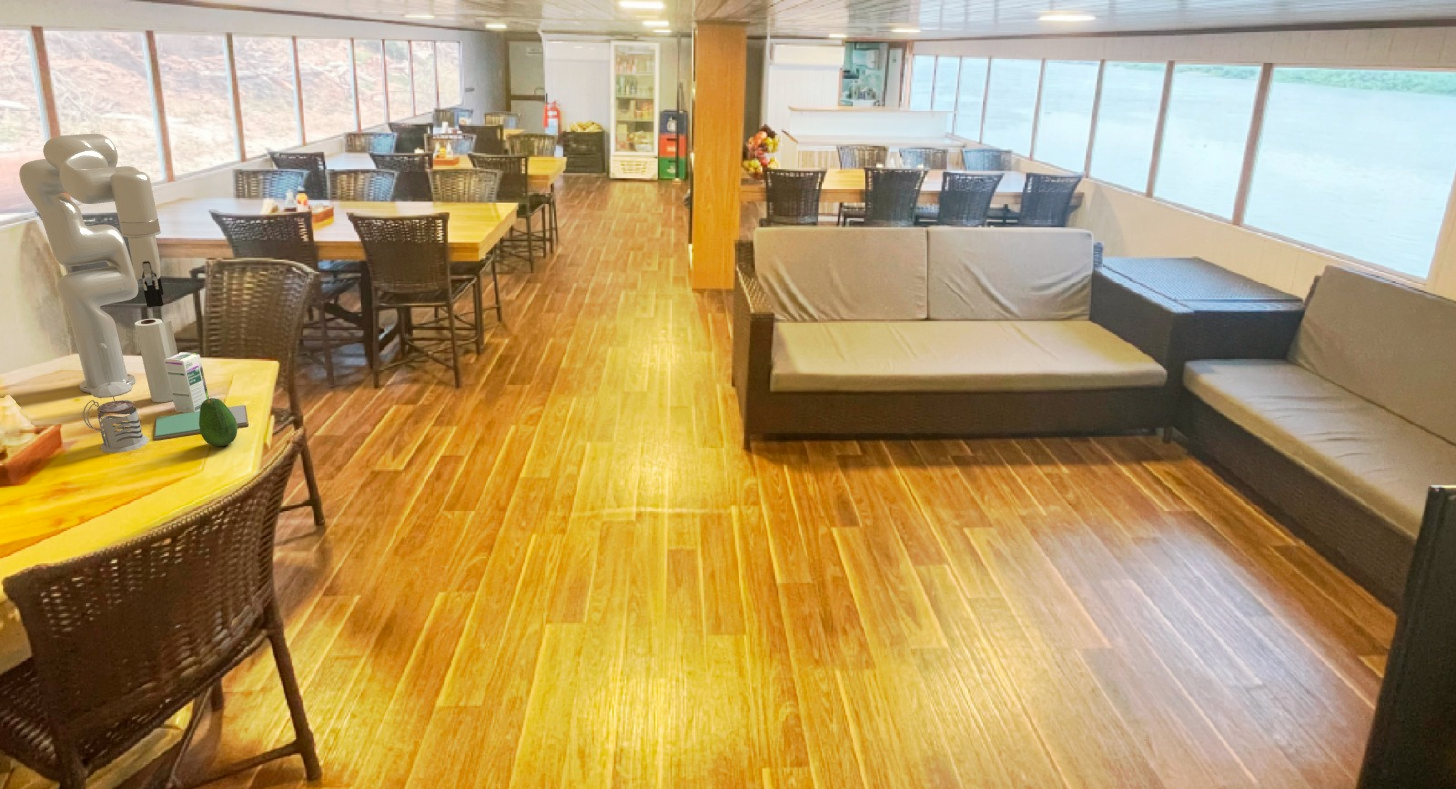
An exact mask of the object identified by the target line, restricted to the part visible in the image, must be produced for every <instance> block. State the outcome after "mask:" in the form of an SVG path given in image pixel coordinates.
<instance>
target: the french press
mask: <svg viewBox="0 0 1456 789" xmlns="http://www.w3.org/2000/svg"><path fill="white" fill-rule="evenodd" d="M106 348H107V346H106V345H105V344H104V343H100V344H98V345H97V349H98V350H102V354H103V349H106ZM103 358H104V354H103ZM104 362H105V358H104ZM105 366H106V362H105ZM106 370H107V366H106ZM107 374H108V370H107ZM108 378H109V374H108ZM132 389H133V385H130V384H127V383H124V382H110V378H109V383H105V384H102V385H100V386H98V387H97V388H95V389H94V390H93V391H92V392H91V393H90V394H91V396H92V397H94V398H97V399H102V398H103V399H106V398H113V400H112V401H108V402H105V403H103V404H101V405H99V402H98V401H95V400H89V402H87V403H86V405H85V406H84V407H83V412H82V417H83V418H82V419H83V421H84V423H85V425H86V426H87V427H88V428H89V429H92V430H93V431H97V432H100V434H101V438H102V441H103V443H102V444H101V445H100V447H99V449H100V450H101V451H102V452H104V453H107V454H108V453H109V454H113V453H114V454H119V453H126V452H130V451H134V450H137V449H140V448H142V447H144V446H146V445H147V444H148V443H149V441H150V438H149V437H148V436H147V435H144V434H143V432H142V431H143V429H142V427H141V422H140V418H139V413H138V408H137V407H136V406H135V402H133V401H132V400H127V399H124V400H122V399H118V400H115V397H119V396H122V395H125V394H128V393H129V392H131V391H132ZM92 402H93V403H92ZM90 403H92V404H90ZM89 404H90V406H89V407H88V405H89ZM93 405H94V406H95V407H96V408H97V411H98V413H97V420H98V423H99V427H100V428H95V427H94V426H93V425H92V424H91V423H90V420H89V415H90V413H89V412H90V409H91V408H92V407H93ZM87 407H88V409H87V412H86V408H87ZM85 413H86V416H85ZM105 414H114V415H105ZM104 415H105V416H104ZM116 415H124V416H116ZM103 416H104V417H103ZM102 417H103V418H102ZM86 419H87V420H86Z"/></svg>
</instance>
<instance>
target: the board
mask: <svg viewBox="0 0 1456 789" xmlns="http://www.w3.org/2000/svg"><path fill="white" fill-rule="evenodd" d="M227 407H228V409H229V410H230V411H231V412H232V414H233V415H234V417H235V419H236V422H237V427H238V428H237V429H239V428H246V427H249V420H248V413H247V406H246V405H244V404H241V405H234V406H227ZM199 416H200V411H198V412H191V413H179V414H171V415H164V416H157V417H155V422H154V424H155V425H154V435H153V440H154V441H161V440H167V439H175V438H179V437H180V438H181V437H187V436H194V435H201V434H200V427H199Z"/></svg>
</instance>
